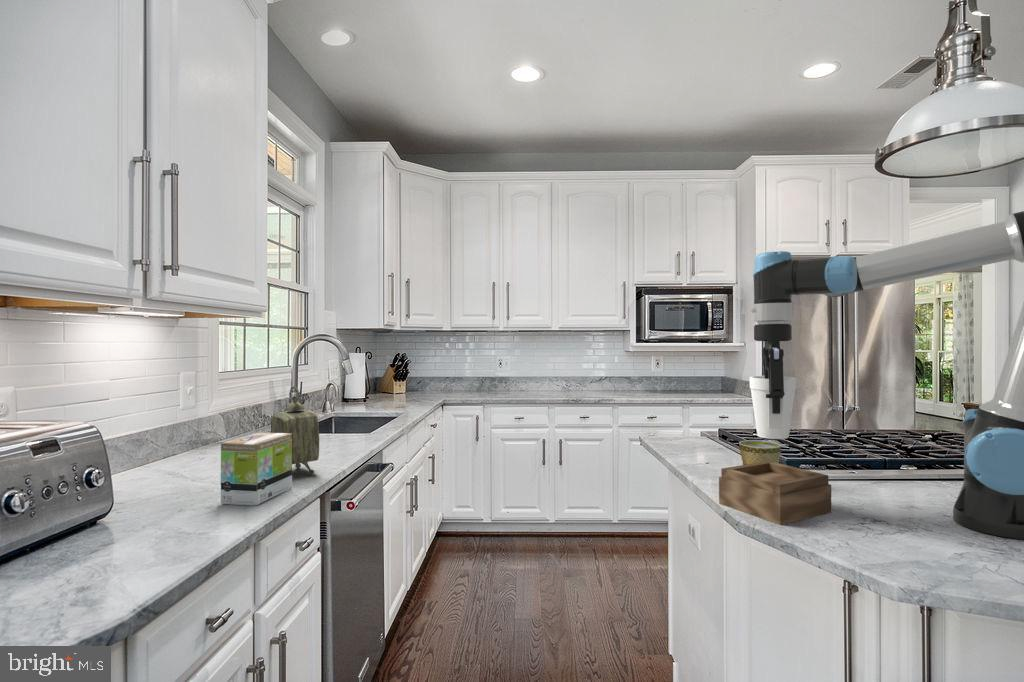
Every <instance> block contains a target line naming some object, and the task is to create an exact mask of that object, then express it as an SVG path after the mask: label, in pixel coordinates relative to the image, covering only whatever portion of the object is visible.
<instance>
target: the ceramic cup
mask: <svg viewBox="0 0 1024 682" xmlns="http://www.w3.org/2000/svg"><path fill="white" fill-rule="evenodd" d="M738 445H739V451H740V452H739V453H740V457H741V461H742V465H746V464H752V463H758V462H764V461H771V462H775V463H779V464H780V458H781V452H782V444H780V443H778V442H776V441H769V440H759V439H749V440H748V439H747V440H741V441H739V442H738Z"/></svg>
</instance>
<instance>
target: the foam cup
mask: <svg viewBox="0 0 1024 682" xmlns="http://www.w3.org/2000/svg"><path fill="white" fill-rule="evenodd" d="M783 380H784V393H785V395H784V396H783V429H769V428H768V398H766V394H769V379H765V376H763V375H752V376H749V388H750V394H751V400H752V407H753V408H752V409H753V413H754V421H755V429H756V435H757V437H759V438H763V439H771V440H785V439H788V438H790V437H789V436H790V431H791V422H792V417H793V410H794V409H793V408H794V401H795V394H796V390H797V377H795V376H786V375H785V376H784V375H783Z"/></svg>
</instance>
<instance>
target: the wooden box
mask: <svg viewBox="0 0 1024 682" xmlns="http://www.w3.org/2000/svg"><path fill="white" fill-rule="evenodd" d="M720 473H721V476H719V477H718V503H719V505H722V506H725V507H728V508H731V509H734V510H737V511H739V512H742V513H746V514H748V515H750V516H753V517H757V518H759V519H762V520H765V521H768V522H771V523H774V524H777V525H779V526H782V525H784V524H785V525H786V524H790V523H793V522H798V521H799V522H800V521H802V520H806V519H811V518H815V517H818V516H819V517H820V516H823V515H826V514H827V515H828V514H831V513H832V484H830V483H829V475H828V474H824V473H820V472H816V471H812V470H807V469H803V468H799V467H795V466H791V465H787V464H782V463H780V462H779V463H775V462H771V461H764V462H758V463H752V464H746V465H743V464H741V465H735V466H729V467H723V468H721V472H720Z"/></svg>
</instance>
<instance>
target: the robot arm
mask: <svg viewBox="0 0 1024 682" xmlns="http://www.w3.org/2000/svg"><path fill="white" fill-rule="evenodd" d="M1010 260H1014V261H1017V262H1019V263H1021V264H1023V263H1024V210H1022V211H1019V212H1015V213H1010V214H1009V215H1008V216H1007V217H1006V219H1004V221H1001V222H996V223H992V224H988V225H984V226H983V225H982V226H979V227H975V228H972V229H968V230H963V231H960V232H959V231H958V232H956V233H955V232H954V233H951V234H947V235H943V236H938V237H935V238H931V239H925V240H922V241H917V242H914V243H913V242H912V243H910V244H905V245H901V246H898V247H893V248H889V249H885V250H881V251H877V252H873V253H868V254H864V255H861V256H856V257H853V256H850V255H849V256H848V255H847V256H845V255H844V256H841V255H840V256H838V255H833V256H829V257H818V258H807V259H793V258H792V254H791V252H790V251H786V250H781V251H780V250H779V251H767V252H761V253H758V254H757V255H756V256H755V258H754V261H753V263H754V264H753V273H752V277H753V308H751V309H750V312H751V313H753V321H754V322H756V324H754V325H753V339H754V341H756V342H765V346H764V347H763V348H762V349H761V355H762V367H763V368H762V369H763V370H762V376H765V379H769V394H766V398H768V428H769V429H783V396H784V395H785V393H784V380H783V376H784V355H785V353H784V349H783V348H781V342H790V341H791V340H792V337H793V335H792V334H793V333H792V326H793V325H792V324H791V323H790V322H792V320H793V303H792V296H800V295H801V296H803V295H824V296H826V297H829V298H839V297H840V298H841V297H844V296H847V295H848V294H852V293H857V292H862V291H866V290H870V289H875V288H880V287H881V288H882V287H885V286H890V285H895V284H901V283H904V282H909V281H913V280H919V279H924V278H929V277H934V276H938V275H943V274H948V273H952V272H953V273H954V272H958V271H962V270H967V269H972V268H976V267H981V266H987V265H990V264H996V263H1001V262H1007V261H1010ZM1008 347H1009V348H1008V350H1007V353H1006V358H1005V360H1004V363H1003V367H1002V370H1001V373H1000V376H999V379H998V382H997V386H996V388H995V391H994V395H993V397H992V399H991V400H989V401H987V402H985V403H982V404H980V405H979V407H978V408H970V409H966V410H965V412H964V414H963V415H964V417H963V420H962V425H963V430H964V431H963V484H962V487H961V488H960V491H959V492H958V493H959V494H958V496H957V498H956V501H955V502H954V504H953V507H952V509H953V510H952V519H953V521H954V522H956V523H957V524H958V525H960V526H963V527H965V528H967V529H971V530H973V531H977V532H980V533H982V534H983V533H984V534H987V535H992V536H997V537H1003V538H1009V539H1015V540H1016V539H1017V540H1024V302H1023V304H1022V307H1021V310H1020V313H1019V315H1018V320H1017V323H1016V326H1015V329H1014V331H1013V335H1012V337H1011V342H1010V344H1009V346H1008Z"/></svg>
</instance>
